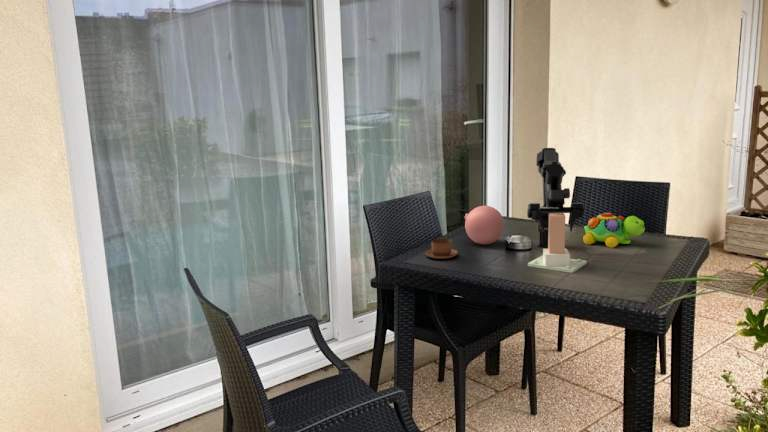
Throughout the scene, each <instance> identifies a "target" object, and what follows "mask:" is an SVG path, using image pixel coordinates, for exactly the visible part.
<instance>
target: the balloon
mask: <svg viewBox="0 0 768 432" xmlns="http://www.w3.org/2000/svg"><path fill="white" fill-rule="evenodd" d="M463 217H464V220H465V221H464V225H465V226H464V229H465V232H466V234H467V236H468V238H470V239H471V241H473V242H474V243H476V244H479V245H485V246H486V245H491V244H493V243H495V242H497V241H498V240H499V239H500V238H501V237H502V236H503V233H504V230H505V221H504V217H503V215H502V214H501V212H500V211H499V210H498V209H497V208H494V207H493V206H489V205H479V206H477V207H475V208H473V209H472V210H471V211H469V213H465V216H463Z"/></svg>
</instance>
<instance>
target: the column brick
mask: <svg viewBox="0 0 768 432" xmlns="http://www.w3.org/2000/svg"><path fill="white" fill-rule="evenodd" d="M565 246H566V215H565V213H549V224H548V248H547V249H548V251H549V253H562V254H565V249H566V247H565Z"/></svg>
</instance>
